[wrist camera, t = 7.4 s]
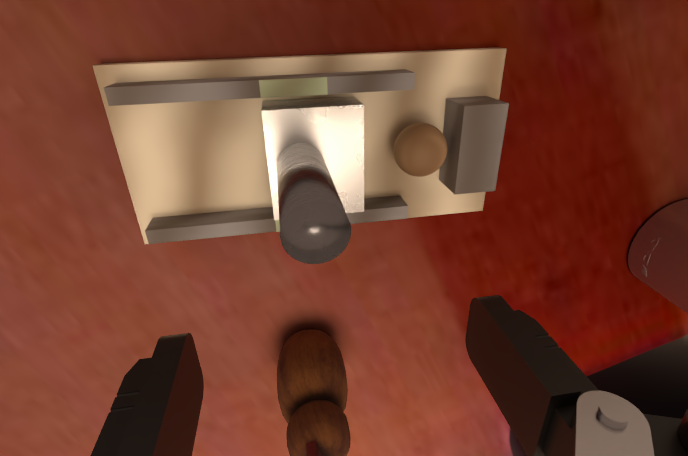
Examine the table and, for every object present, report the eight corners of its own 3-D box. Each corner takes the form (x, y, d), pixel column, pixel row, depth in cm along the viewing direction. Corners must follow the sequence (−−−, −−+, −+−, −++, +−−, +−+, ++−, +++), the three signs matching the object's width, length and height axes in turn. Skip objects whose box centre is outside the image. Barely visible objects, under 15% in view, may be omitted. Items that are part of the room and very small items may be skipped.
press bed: (497, 47, 28) (532, 51, 24) (475, 204, 33) (501, 227, 30) (100, 63, 24) (70, 71, 21) (149, 236, 30) (132, 266, 26)
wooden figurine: (273, 320, 35) (276, 496, 22) (338, 314, 36) (377, 479, 23) (278, 375, 39) (284, 559, 25) (338, 368, 39) (372, 542, 26)
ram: (354, 96, 26) (411, 145, 16) (355, 194, 30) (404, 289, 19) (262, 101, 26) (257, 156, 15) (273, 202, 29) (276, 305, 18)
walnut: (437, 116, 28) (458, 128, 25) (433, 165, 30) (453, 182, 27) (388, 119, 28) (403, 131, 25) (386, 168, 29) (401, 186, 26)
